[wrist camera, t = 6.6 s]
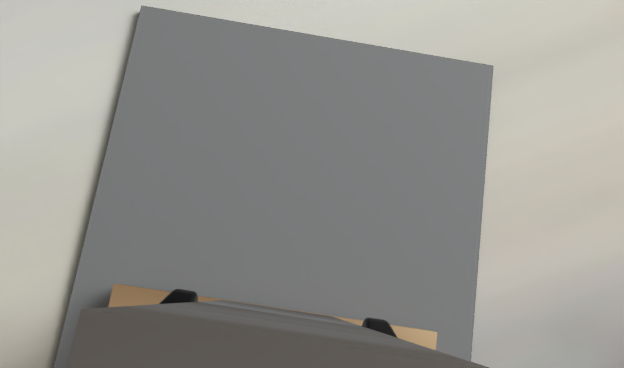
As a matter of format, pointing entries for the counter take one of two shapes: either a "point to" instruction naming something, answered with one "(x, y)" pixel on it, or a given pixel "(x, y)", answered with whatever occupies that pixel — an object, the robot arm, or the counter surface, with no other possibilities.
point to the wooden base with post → (239, 337)
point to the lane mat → (291, 177)
